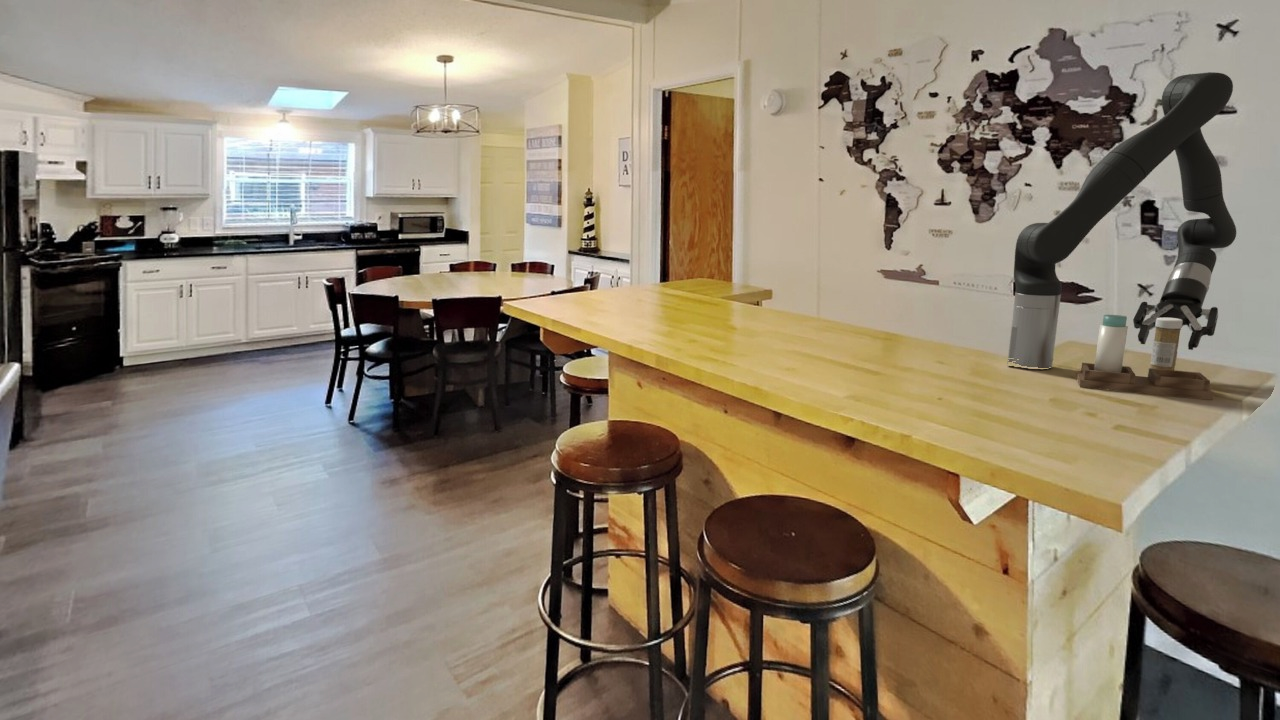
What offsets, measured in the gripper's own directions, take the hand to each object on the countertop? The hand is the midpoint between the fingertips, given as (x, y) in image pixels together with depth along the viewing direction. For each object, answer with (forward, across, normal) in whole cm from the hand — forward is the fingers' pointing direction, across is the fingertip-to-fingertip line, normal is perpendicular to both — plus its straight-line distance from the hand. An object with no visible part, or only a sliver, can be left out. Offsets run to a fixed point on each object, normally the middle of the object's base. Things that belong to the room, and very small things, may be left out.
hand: (1165, 344), depth 151 cm
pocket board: (+14, -1, -3) cm, 14 cm away
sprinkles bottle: (+6, 0, +6) cm, 8 cm away
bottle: (+14, -7, -6) cm, 17 cm away
